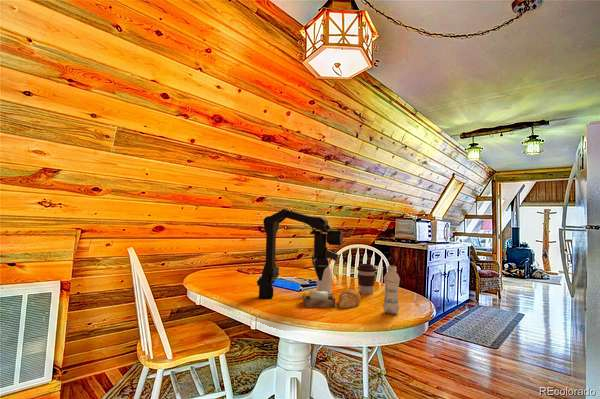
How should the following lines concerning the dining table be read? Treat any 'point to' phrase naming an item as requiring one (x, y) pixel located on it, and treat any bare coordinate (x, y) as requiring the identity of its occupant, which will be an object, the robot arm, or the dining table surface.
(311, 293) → the roll
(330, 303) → the tray
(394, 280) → the plastic bottle
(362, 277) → the coffee cup
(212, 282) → the dining table surface
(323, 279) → the milk bottle
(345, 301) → the croissant
